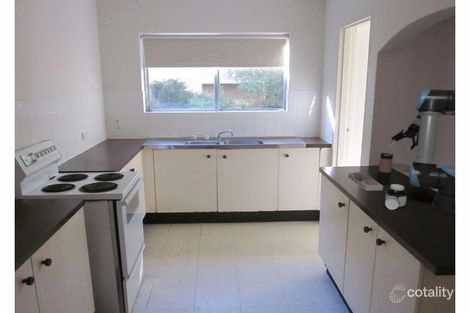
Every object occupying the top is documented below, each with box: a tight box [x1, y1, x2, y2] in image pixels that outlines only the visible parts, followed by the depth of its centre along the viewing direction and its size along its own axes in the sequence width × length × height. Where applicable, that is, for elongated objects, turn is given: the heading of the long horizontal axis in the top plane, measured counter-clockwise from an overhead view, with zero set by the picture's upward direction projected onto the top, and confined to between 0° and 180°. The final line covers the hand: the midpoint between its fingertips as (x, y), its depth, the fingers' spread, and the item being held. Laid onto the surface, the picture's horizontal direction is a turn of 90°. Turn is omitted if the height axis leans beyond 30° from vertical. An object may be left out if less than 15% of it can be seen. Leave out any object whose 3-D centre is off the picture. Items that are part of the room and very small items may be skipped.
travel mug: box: [377, 152, 394, 186], centre depth 227 cm, size 8×8×20 cm
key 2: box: [364, 179, 378, 185], centre depth 219 cm, size 6×6×3 cm
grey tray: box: [347, 172, 384, 192], centre depth 228 cm, size 28×11×3 cm, turn 4°
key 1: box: [353, 172, 364, 177], centre depth 237 cm, size 6×6×3 cm
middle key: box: [359, 173, 373, 181], centre depth 228 cm, size 6×6×3 cm
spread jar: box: [384, 183, 408, 211], centre depth 187 cm, size 12×11×12 cm
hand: (398, 150), depth 228 cm, fingers open, 13 cm apart
